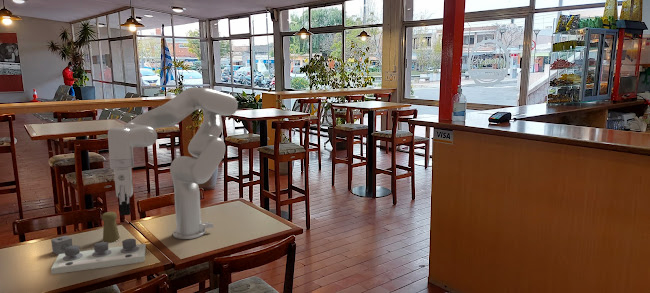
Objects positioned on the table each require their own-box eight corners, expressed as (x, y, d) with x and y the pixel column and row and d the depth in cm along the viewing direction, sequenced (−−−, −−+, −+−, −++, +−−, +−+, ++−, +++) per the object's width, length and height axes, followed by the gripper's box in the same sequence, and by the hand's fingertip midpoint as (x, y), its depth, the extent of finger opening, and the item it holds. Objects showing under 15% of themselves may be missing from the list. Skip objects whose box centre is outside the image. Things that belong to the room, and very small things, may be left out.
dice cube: (52, 252, 163) (51, 239, 162) (67, 248, 167) (66, 235, 166) (58, 255, 160) (56, 242, 159) (73, 251, 164) (71, 238, 163)
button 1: (80, 250, 156) (80, 244, 156) (78, 254, 152) (77, 249, 152) (66, 251, 155) (65, 246, 154) (63, 256, 151) (63, 251, 150)
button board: (145, 248, 166) (145, 242, 165) (144, 261, 155) (143, 255, 154) (59, 259, 157) (59, 253, 156) (51, 274, 145) (50, 267, 145)
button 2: (136, 243, 162) (136, 237, 162) (135, 247, 158) (135, 242, 158) (123, 244, 161) (122, 239, 160) (122, 249, 156) (121, 244, 156)
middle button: (109, 246, 159) (108, 241, 159) (107, 251, 155) (107, 245, 155) (95, 248, 158) (94, 242, 157) (93, 253, 154) (93, 247, 153)
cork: (113, 243, 171) (110, 215, 169) (99, 241, 172) (96, 214, 170) (123, 237, 177) (120, 210, 175) (109, 236, 178) (107, 209, 176)
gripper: (132, 166, 148) (135, 220, 151) (135, 158, 162) (138, 207, 165) (107, 168, 146) (111, 222, 149) (112, 159, 159) (115, 209, 163)
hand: (125, 214), depth 157 cm, fingers closed
